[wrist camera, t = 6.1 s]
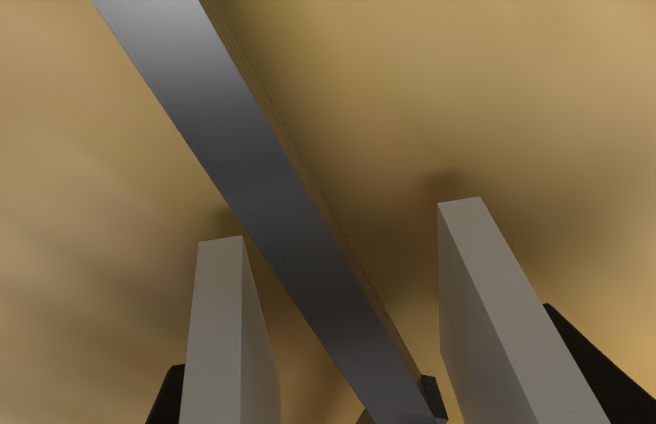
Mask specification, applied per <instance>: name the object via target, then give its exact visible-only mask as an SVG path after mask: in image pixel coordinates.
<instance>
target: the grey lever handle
mask: <svg viewBox="0 0 656 424" xmlns="http://www.w3.org/2000/svg"><path fill="white" fill-rule="evenodd" d="M91 1H92V3H93V4H94V6H95V7H96V9H97V10H98V12H99V13H100V15H101V16H102V18H103V19H104V21H105V22H106V24H107V25H108V27H109V28H110V30H111V31H112V32H113V34H114V35H115V37H116V38H117V40H118V41H119V43H120V44H121V46H122V47H123V49H124V50H125V52H126V53H127V55H128V56H129V58H130V59H131V61H132V62H133V64H134V65H135V67H136V68H137V70H138V71H139V73H140V74H141V76H142V77H143V79H144V80H145V81H146V83H147V84H148V86H149V87H150V89H151V90H152V92H153V93H154V95H155V96H156V98H157V99H158V101H159V102H160V104H161V105H162V107H163V108H164V110H165V111H166V113H167V114H168V116H169V117H170V119H171V120H172V122H173V123H174V125H175V126H176V128H177V129H178V130H179V132H180V133H181V135H182V136H183V138H184V139H185V141H186V142H187V144H188V145H189V147H190V148H191V150H192V151H193V153H194V154H195V156H196V157H197V159H198V160H199V162H200V163H201V165H202V166H203V168H204V169H205V171H206V172H207V174H208V175H209V177H210V178H211V179H212V181H213V182H214V184H215V185H216V187H217V188H218V190H219V191H220V193H221V194H222V196H223V197H224V199H225V200H226V202H227V203H228V205H229V206H230V208H231V209H232V211H233V212H234V214H235V215H236V217H237V218H238V220H239V221H240V223H241V224H242V226H243V227H244V228H245V230H246V231H247V233H248V234H249V236H250V237H251V239H252V240H253V242H254V243H255V245H256V246H257V248H258V249H259V251H260V252H261V254H262V255H263V257H264V258H265V260H266V261H267V263H268V264H269V266H270V267H271V269H272V270H273V272H274V273H275V275H276V276H277V277H278V279H279V280H280V282H281V283H282V285H283V286H284V288H285V289H286V291H287V292H288V294H289V295H290V297H291V298H292V300H293V301H294V303H295V304H296V306H297V307H298V309H299V310H300V312H301V313H302V315H303V316H304V318H305V319H306V321H307V322H308V324H309V325H310V327H311V328H312V329H313V331H314V332H315V334H316V335H317V337H318V338H319V340H320V341H321V343H322V344H323V346H324V347H325V349H326V350H327V352H328V353H329V355H330V356H331V358H332V359H333V361H334V362H335V364H336V365H337V367H338V368H339V370H340V371H341V373H342V374H343V376H344V377H345V378H346V380H347V381H348V383H349V384H350V386H351V387H352V389H353V390H354V392H355V393H356V395H357V396H358V398H359V399H360V401H361V402H362V404H363V405H364V407H365V409H364V411H363V413H362V414H361V416H360V417H359V419H358V421H357V422H356V424H446V423H447V421H448V420H449V419H448V416H447V413H446V410H445V407H444V404H443V401H442V397H441V394H440V391H439V388H438V385H437V382H436V379H435V377H432V376H426V375H422V374H421V373H420V371H419V369H418V367H417V365H416V363H415V362H414V360H413V358H412V356H411V354H410V352H409V351H408V349H407V347H406V345H405V343H404V342H403V340H402V338H401V336H400V334H399V332H398V331H397V329H396V327H395V325H394V323H393V321H392V320H391V318H390V316H389V314H388V312H387V310H386V309H385V307H384V305H383V303H382V301H381V300H380V298H379V296H378V294H377V292H376V290H375V289H374V287H373V285H372V283H371V281H370V279H369V278H368V276H367V274H366V272H365V270H364V269H363V267H362V265H361V263H360V261H359V259H358V258H357V256H356V254H355V252H354V250H353V248H352V247H351V245H350V243H349V241H348V239H347V237H346V236H345V234H344V232H343V230H342V228H341V227H340V225H339V223H338V221H337V219H336V217H335V216H334V214H333V212H332V210H331V208H330V206H329V205H328V203H327V201H326V199H325V197H324V195H323V194H322V192H321V190H320V188H319V186H318V185H317V183H316V181H315V179H314V177H313V175H312V174H311V172H310V170H309V168H308V166H307V164H306V163H305V161H304V159H303V157H302V155H301V154H300V152H299V150H298V148H297V146H296V144H295V143H294V141H293V139H292V137H291V135H290V133H289V132H288V130H287V128H286V126H285V124H284V122H283V121H282V119H281V117H280V115H279V113H278V112H277V110H276V108H275V106H274V104H273V102H272V101H271V99H270V97H269V95H268V93H267V91H266V90H265V88H264V86H263V84H262V82H261V80H260V79H259V77H258V75H257V73H256V71H255V70H254V68H253V66H252V64H251V62H250V60H249V59H248V57H247V55H246V53H245V51H244V49H243V48H242V46H241V44H240V42H239V40H238V39H237V37H236V35H235V33H234V31H233V29H232V28H231V26H230V24H229V22H228V20H227V18H226V17H225V15H224V13H223V11H222V9H221V7H220V6H219V4H218V2H217V0H91Z"/></svg>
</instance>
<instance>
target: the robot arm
mask: <svg viewBox="0 0 656 424" xmlns="http://www.w3.org/2000/svg"><path fill="white" fill-rule="evenodd" d="M542 305H543V307H544V308H545V310H546V312H547V314H548V315H549V317H550V319H551V320H552V322H553V324H554V326H555V327H556V329H557V331H558V333H559V334H560V336H561V338H562V340H563V341H564V343H565V345H566V347H567V348H568V350H569V352H570V353H571V355H572V357H573V359H574V360H575V362H576V364H577V366H578V367H579V369H580V371H581V373H582V374H583V376H584V378H585V380H586V381H587V383H588V385H589V386H590V388H591V390H592V392H593V393H594V395H595V397H596V399H597V400H598V402H599V404H600V406H601V407H602V409H603V411H604V413H605V414H606V416H607V418H608V419H609V421H610V423H611V424H656V400H655V399H654V398H653V397H652V396H651V395H650V394H648V393H647V392H646V391H645V390H644V389H643V388H641V387H640V386H639V385H638V384H637V383H635V382H634V381H633V380H632V379H631V378H630V377H628V376H627V375H626V374H625V373H624V372H623V371H622V370H621V369H619V368H618V367H617V366H616V365H615V364H614V363H613V362H612V361H611V360H609V359H608V358H607V357H606V356H605V355H604V354H603V353H602V352H601V351H600V350H598V349H597V348H596V347H595V346H594V345H593V344H592V343H591V342H590V341H589V340H588V339H586V338H585V337H584V336H583V335H582V334H581V333H580V332H579V331H578V330H577V329H576V328H575V327H574V326H573V325H572V324H571V323H569V322H568V321H567V320H566V319H565V318H564V317H563V316H562V315H561V314H560V313H559V312H558V311H557V310H556V309H555V308H554V307H552V306H551V305H550V304H548V303H546V304H542ZM184 373H185V364H181V365H175V366H172V367H171V368H170V369H169V370H168V372H167V374H166V376H165V379H164V381H163V384H162V386H161V389H160V391H159V393H158V396H157V398H156V400H155V403H154V405H153V407H152V409H151V412H150V414H149V416H148V418H147V421H146V423H145V424H179V419H180V410H181V401H182V391H183V382H184Z"/></svg>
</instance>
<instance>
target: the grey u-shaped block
mask: <svg viewBox="0 0 656 424" xmlns="http://www.w3.org/2000/svg"><path fill="white" fill-rule="evenodd" d="M437 225H438V276H439V327H440V352H441V355H442V358H443V361H444V364H445V367H446V370H447V373H448V376H449V379H450V381H451V384H452V387H453V390H454V393H455V396H456V399H457V402H458V405H459V408H460V411H461V413H462V416H463V419H464V422H465V424H611V423H610V421H609V419H608V418H607V416H606V414H605V413H604V411H603V409H602V407H601V406H600V404H599V402H598V400H597V399H596V397H595V395H594V393H593V392H592V390H591V388H590V386H589V385H588V383H587V381H586V380H585V378H584V376H583V374H582V373H581V371H580V369H579V367H578V366H577V364H576V362H575V360H574V359H573V357H572V355H571V353H570V352H569V350H568V348H567V347H566V345H565V343H564V341H563V340H562V338H561V336H560V334H559V333H558V331H557V329H556V327H555V326H554V324H553V322H552V320H551V319H550V317H549V315H548V314H547V312H546V310H545V308H544V307H543V305H542V303H541V301H540V300H539V298H538V296H537V294H536V293H535V291H534V289H533V287H532V286H531V284H530V282H529V281H528V279H527V277H526V275H525V274H524V272H523V270H522V268H521V267H520V265H519V263H518V261H517V260H516V258H515V256H514V254H513V253H512V251H511V249H510V248H509V246H508V244H507V242H506V241H505V239H504V237H503V235H502V234H501V232H500V230H499V228H498V227H497V225H496V223H495V221H494V220H493V218H492V216H491V215H490V213H489V211H488V209H487V208H486V206H485V204H484V202H483V201H482V199H481V197H480V196H478V197H472V198H466V199H460V200H454V201H448V202H442V203H437ZM179 424H282V422H281V403H280V384H279V375H278V371H277V368H276V364H275V360H274V356H273V352H272V348H271V344H270V340H269V336H268V333H267V329H266V325H265V321H264V317H263V313H262V309H261V305H260V301H259V297H258V294H257V290H256V286H255V282H254V278H253V274H252V270H251V266H250V262H249V258H248V255H247V251H246V247H245V243H244V239H243V235H239V236H233V237H227V238H221V239H215V240H208V241H202V242H199V246H198V255H197V264H196V273H195V282H194V291H193V300H192V309H191V318H190V328H189V337H188V346H187V355H186V364H185V373H184V382H183V391H182V401H181V410H180V419H179Z"/></svg>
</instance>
